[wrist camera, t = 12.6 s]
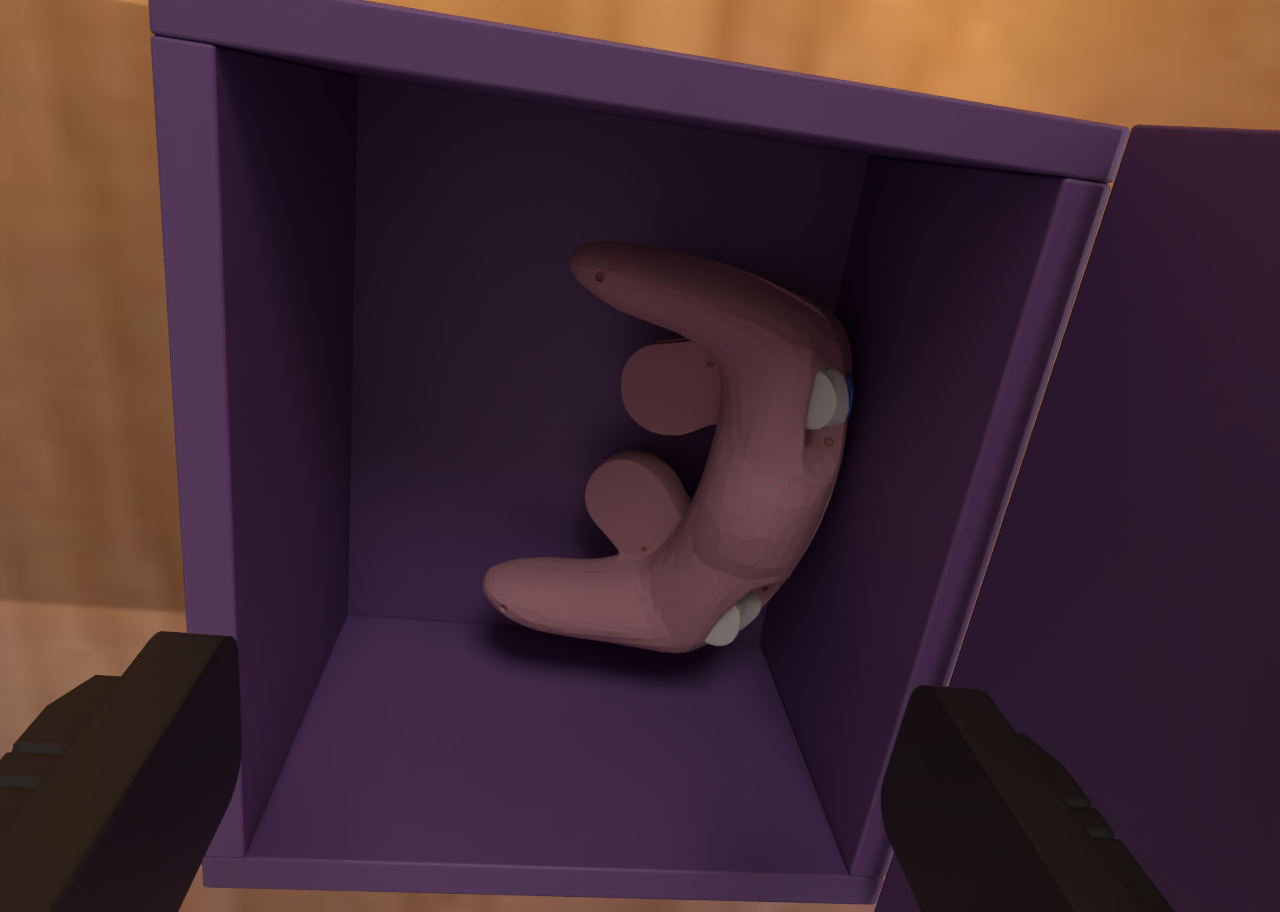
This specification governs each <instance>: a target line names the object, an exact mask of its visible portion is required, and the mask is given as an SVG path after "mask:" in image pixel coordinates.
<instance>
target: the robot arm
mask: <svg viewBox="0 0 1280 912" xmlns="http://www.w3.org/2000/svg"><path fill="white" fill-rule="evenodd" d="M241 755H242V730H241V704H240V679H239V654H238V646H237V643H236V640H235V639H234V637H232V636H224V635H209V634H194V633H180V632H165V631H160V632H158V633H156V634H155V635H154V636H153V637H152V638H151V639H150V640H149V641H148V643H147V644H146V645H145V646H144V648H143V649H142V650H141V652H140V653H139V654H138V655H137V657H136V658H135V659H134V661H133V662H132V663H131V664H130V666H129V667H128V668H127V670H126V671H125V672H124V674H123V675H122V676H121V677H120V676H104V675H95V676H93V677H92V678H90V679H89V680H87V681H86V682H84V683H82V684H81V685H79V686H78V687H76V688H74V689H73V690H71V691H70V692H68V693H67V694H65V695H63V696H62V697H60V698H59V699H57V700H55V701H54V702H52V703H51V704H49V705H48V706H46V707H45V709H44V710H43V711H42V712H41V713H40V714H39V716H38V717H37V718H36V719H35V720H34V721H33V723H32V724H31V725H30V726H29V727H28V728H27V730H26V731H25V732H24V733H23V734H22V735H21V736H20V738H19V739H18V740H17V741H16V742H15V743H14V745H13V750H12V752H11V753H6V754H5V755H4V756H3V757H2V758H1V760H0V912H178V911H179V909H180V907H181V905H182V902H183V900H184V898H185V896H186V894H187V892H188V890H189V888H190V886H191V884H192V882H193V879H194V877H195V875H196V873H197V871H198V869H199V867H200V865H201V863H202V861H203V859H204V856H205V854H206V852H207V850H208V848H209V846H210V844H211V842H212V840H213V838H214V836H215V833H216V831H217V829H218V827H219V825H220V823H221V821H222V819H223V817H224V815H225V813H226V810H227V808H228V806H229V804H230V802H231V799H232V796H233V793H234V790H235V787H236V783H237V779H238V774H239V769H240V763H241ZM1090 803H1091V801H1090V799H1089V798H1088V797H1087V796H1086V794H1085V793H1084V792H1083V790H1082V789H1081V788H1080V786H1079V785H1078V784H1077V782H1076V781H1075V780H1074V779H1073V777H1072V776H1071V775H1070V773H1069V772H1068V771H1067V769H1066V768H1065V767H1064V765H1062V764H1061V763H1060V762H1059V761H1057V760H1056V759H1055V758H1054V757H1053V756H1051V755H1050V754H1049V753H1048V752H1046V751H1045V750H1044V749H1043V748H1041V747H1040V746H1039V745H1038V744H1036V743H1035V742H1034V741H1033V740H1031V739H1030V738H1029V737H1028V736H1026V735H1025V734H1019V733H1016V732H1015V730H1014V729H1013V728H1012V726H1011V725H1010V723H1009V722H1008V721H1007V719H1006V718H1005V717H1004V715H1003V714H1002V712H1001V711H1000V710H999V708H998V707H997V706H996V704H995V703H994V701H993V700H992V699H991V697H990V696H989V695H988V694H987V693H986V692H984V691H983V690H980V689H972V688H958V687H943V686H928V685H921V686H918V687H917V688H916V689H915V690H914V691H913V692H912V694H911V696H910V698H909V701H908V704H907V707H906V710H905V713H904V716H903V719H902V722H901V726H900V729H899V732H898V735H897V738H896V741H895V744H894V747H893V750H892V754H891V757H890V760H889V763H888V766H887V769H886V772H885V775H884V779H883V783H882V789H881V813H882V819H883V824H884V828H885V831H886V834H887V837H888V839H889V841H890V844H891V846H892V848H893V850H894V853H895V855H896V857H897V859H898V862H899V864H900V866H901V868H902V870H903V873H904V875H905V877H906V879H907V882H908V884H909V886H910V888H911V891H912V893H913V895H914V897H915V900H916V902H917V904H918V906H919V908H920V911H921V912H1175V911H1174V909H1173V908H1172V907H1171V905H1170V904H1169V903H1168V902H1167V900H1166V899H1165V898H1164V896H1163V895H1162V894H1161V892H1160V891H1159V890H1158V888H1157V887H1156V886H1155V884H1154V883H1153V882H1152V881H1151V879H1150V878H1149V877H1148V875H1147V874H1146V873H1145V871H1144V870H1143V869H1142V867H1141V866H1140V865H1139V864H1138V862H1137V861H1136V860H1135V858H1134V857H1133V856H1132V854H1131V853H1130V852H1129V850H1128V849H1127V848H1126V847H1125V845H1124V844H1123V843H1122V841H1121V840H1120V839H1115V838H1114V831H1113V830H1112V828H1111V827H1110V826H1109V824H1108V823H1107V822H1106V820H1105V819H1104V818H1103V816H1102V815H1101V814H1100V813H1099V811H1098V810H1097V809H1096V808H1091V804H1090Z"/></svg>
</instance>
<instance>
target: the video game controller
mask: <svg viewBox="0 0 1280 912" xmlns="http://www.w3.org/2000/svg"><path fill="white" fill-rule="evenodd" d="M570 267H571V270H572V272H573V273H574V275H575V277H576V278H577V280H578V281H579V282H580V283H581V284H582V285H583V286H584V287H585V288H586V289H587V290H588V291H590V292H591V293H592V294H593V295H595V296H596V297H598V298H600V299H601V300H603V301H604V302H606V303H608V304H609V305H611V306H612V307H614V308H616V309H617V310H619V311H621V312H624V313H626V314H629V315H632V316H634V317H637V318H639V319H642V320H645V321H647V322H650V323H653V324H655V325H658V326H660V327H663V328H666V329H668V330H671V331H674V332H676V333H679V334H681V335H680V336H666V337H663V338H660V339H657V340H655V341H653V342H651V343H649V344H647V345H646V346H644V347H643V348H641V349H639V350H638V351H636V352H635V353H634V354H633V355H632V356H631V357H630V358H629V359H628V361H627V363H626V364H625V367H624V369H623V372H622V378H621V394H622V400H623V403H624V405H625V408H626V410H627V412H628V413H629V415H630V416H631V417H632V418H633V419H634V420H635V421H636V422H637V423H638V424H639V425H640V426H642V427H643V428H645V429H647V430H649V431H651V432H654V433H658V434H661V435H683V434H687V433H691V432H694V431H696V430H698V429H701V428H703V427H705V426H708V425H717V427H716V431H715V434H714V438H713V442H712V446H711V449H710V453H709V457H708V460H707V463H706V466H705V469H704V472H703V475H702V478H701V481H700V484H699V486H698V488H697V490H696V493H695V495H694V497H693V500H692V499H691V498H690V496H689V495H688V494H687V492H686V490H685V489H684V487H683V485H682V483H681V481H680V479H679V477H678V476H677V474H676V473H675V472H674V470H673V469H672V468H671V467H670V466H669V465H668V464H667V463H666V462H664V461H663V460H661V459H660V458H658V457H657V456H655V455H654V454H651V453H649V452H645V451H640V450H623V451H620V452H618V453H616V454H614V455H612V456H611V457H610V458H608V459H607V460H606V461H605V462H603V463H602V464H601V465H600V466H599V467H598V468H597V469H596V470H595V472H594V473H593V474H592V475H591V477H590V479H589V481H588V483H587V486H586V491H585V502H586V506H587V509H588V512H589V515H590V516H591V518H592V519H593V520H594V522H595V523H596V524H597V526H598V527H599V528H600V529H601V530H602V531H603V532H604V533H605V534H606V536H607V537H608V538H609V539H610V540H611V541H612V543H613V544H614V545H615V547H616V548H617V549H618V551H619V552H618V553H617V554H615V555H613V556H610V557H605V558H596V559H576V558H558V557H536V558H523V559H514V560H510V561H507V562H503V563H501V564H498V565H495V566H492V567H491V568H489V569H488V571H487V573H486V574H485V576H484V579H483V581H482V585H483V593H484V595H485V597H486V599H487V600H488V601H489V602H490V603H491V605H492V606H493V607H494V608H495V609H497V610H498V611H499V612H501V613H502V614H503V615H504V616H506V617H507V618H508V619H511V620H513V621H515V622H517V623H519V624H522V625H524V626H526V627H529V628H531V629H534V630H536V631H541V632H547V633H552V634H557V635H563V636H568V637H575V638H582V639H589V640H595V641H602V642H609V643H614V644H620V645H625V646H631V647H636V648H642V649H648V650H653V651H659V652H666V653H684V652H689V651H692V650H695V649H697V648H700V647H702V646H705V645H707V644H711V645H714V646H723V645H727V644H729V643H730V642H732V641H733V640H734V638H735V637H736V636H737V634H738V631H740V630H742V629H743V628H745V627H746V626H747V625H748V624H749V623H750V622H751V621H752V620H754V619H755V618H756V617H757V615H758V614H759V612H760V609H761V608H762V607H763V606H764V605H765V604H766V603H767V602H768V601H769V600H770V599H771V598H772V597H773V595H774V594H775V593H776V592H777V591H778V589H779V588H780V587H781V586H782V585H783V584H784V582H785V581H786V580H787V579H788V578H789V577H790V576H791V574H792V572H793V570H794V569H795V567H796V565H797V564H798V562H799V561H800V559H801V558H802V556H803V554H804V553H805V551H806V550H807V548H808V546H809V544H810V542H811V541H812V539H813V537H814V535H815V533H816V531H817V529H818V527H819V525H820V523H821V521H822V518H823V516H824V513H825V511H826V508H827V505H828V503H829V500H830V498H831V495H832V493H833V489H834V486H835V483H836V479H837V476H838V473H839V469H840V466H841V462H842V456H843V451H844V446H845V440H846V432H847V424H848V418H849V415H850V413H851V410H852V407H853V401H854V382H853V378H852V363H853V359H852V350H851V346H850V343H849V339H848V335H847V333H846V332H845V330H844V328H843V326H842V324H841V323H840V321H839V320H838V319H837V318H836V317H835V316H834V315H833V314H832V313H831V312H830V311H829V310H828V309H826V308H825V307H824V306H823V305H821V304H820V303H818V302H816V301H814V300H813V299H811V298H809V297H806V296H803V295H801V294H798V293H793V292H789V291H787V290H786V289H784V288H782V287H780V286H778V285H776V284H774V283H772V282H770V281H767V280H765V279H763V278H761V277H759V276H757V275H755V274H752V273H749V272H746V271H744V270H741V269H738V268H736V267H733V266H730V265H728V264H725V263H721V262H717V261H713V260H710V259H706V258H702V257H698V256H695V255H691V254H687V253H684V252H680V251H675V250H671V249H666V248H661V247H657V246H652V245H648V244H643V243H634V242H624V241H615V240H597V241H590V242H587V243H584V244H581V245H580V246H579V247H578V248H577V249H576V250H575V251H574V253H573V255H572V257H571V259H570Z"/></svg>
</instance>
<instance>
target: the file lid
mask: <svg viewBox="0 0 1280 912" xmlns="http://www.w3.org/2000/svg"><path fill="white" fill-rule="evenodd" d="M948 687H958V688H972V689H980V690H983V691H984V692H986V693H987V694H988V695H989V696H990V697H991V699H992V700H993V701H994V703H995V704H996V706H997V707H998V708H999V710H1000V711H1001V712H1002V714H1003V715H1004V717H1005V718H1006V719H1007V721H1008V722H1009V723H1010V725H1011V726H1012V728H1013V729H1014V730H1015V732H1016V733H1019V734H1025V735H1026V736H1028V737H1029V738H1030V739H1031V740H1033V741H1034V742H1035V743H1036V744H1038V745H1039V746H1040V747H1041V748H1043V749H1044V750H1045V751H1046V752H1048V753H1049V754H1050V755H1051V756H1053V757H1054V758H1055V759H1056V760H1057V761H1059V762H1060V763H1061V764H1062V765H1064V767H1065V768H1066V769H1067V771H1068V772H1069V773H1070V775H1071V776H1072V777H1073V779H1074V780H1075V781H1076V782H1077V784H1078V785H1079V786H1080V788H1081V789H1082V790H1083V792H1084V793H1085V794H1086V796H1087V797H1088V798H1089V799H1090V801H1091V803H1090V804H1091V808H1096V809H1097V810H1098V811H1099V813H1100V814H1101V815H1102V816H1103V818H1104V819H1105V820H1106V822H1107V823H1108V824H1109V826H1110V827H1111V828H1112V830H1113V831H1114V838H1115V839H1120V840H1121V841H1122V843H1123V844H1124V845H1125V847H1126V848H1127V849H1128V850H1129V852H1130V853H1131V854H1132V856H1133V857H1134V858H1135V860H1136V861H1137V862H1138V864H1139V865H1140V866H1141V867H1142V869H1143V870H1144V871H1145V873H1146V874H1147V875H1148V877H1149V878H1150V879H1151V881H1152V882H1153V883H1154V884H1155V886H1156V887H1157V888H1158V890H1159V891H1160V892H1161V894H1162V895H1163V896H1164V898H1165V899H1166V900H1167V902H1168V903H1169V904H1170V905H1171V907H1172V908H1173V909H1174V911H1175V912H1280V130H1258V129H1233V128H1209V127H1184V126H1160V125H1135V126H1133V128H1132V130H1131V133H1130V136H1129V139H1128V142H1127V145H1126V148H1125V151H1124V154H1123V157H1122V160H1121V163H1120V166H1119V169H1118V172H1117V175H1116V178H1115V181H1114V184H1113V187H1112V190H1111V193H1110V196H1109V199H1108V203H1107V206H1106V209H1105V212H1104V215H1103V218H1102V221H1101V224H1100V227H1099V230H1098V233H1097V236H1096V239H1095V242H1094V245H1093V248H1092V251H1091V254H1090V257H1089V260H1088V263H1087V266H1086V269H1085V272H1084V275H1083V278H1082V282H1081V285H1080V288H1079V291H1078V294H1077V297H1076V300H1075V303H1074V306H1073V309H1072V312H1071V315H1070V318H1069V321H1068V324H1067V327H1066V330H1065V333H1064V336H1063V339H1062V342H1061V345H1060V348H1059V351H1058V354H1057V358H1056V361H1055V364H1054V367H1053V370H1052V373H1051V376H1050V379H1049V382H1048V385H1047V388H1046V391H1045V394H1044V397H1043V400H1042V403H1041V406H1040V409H1039V412H1038V415H1037V418H1036V421H1035V424H1034V427H1033V430H1032V434H1031V437H1030V440H1029V443H1028V446H1027V449H1026V452H1025V455H1024V458H1023V461H1022V464H1021V467H1020V470H1019V473H1018V476H1017V479H1016V482H1015V485H1014V488H1013V491H1012V494H1011V497H1010V500H1009V503H1008V506H1007V509H1006V513H1005V516H1004V519H1003V522H1002V525H1001V528H1000V531H999V534H998V537H997V540H996V543H995V546H994V549H993V552H992V555H991V558H990V561H989V564H988V567H987V570H986V573H985V576H984V579H983V582H982V585H981V589H980V592H979V595H978V598H977V601H976V604H975V607H974V610H973V613H972V616H971V619H970V622H969V625H968V628H967V631H966V634H965V637H964V640H963V643H962V646H961V649H960V652H959V655H958V658H957V661H956V664H955V668H954V671H953V674H952V677H951V680H950V683H949V686H948ZM874 912H921V911H920V908H919V906H918V904H917V902H916V900H915V897H914V895H913V893H912V891H911V888H910V886H909V884H908V882H907V879H906V877H905V875H904V873H903V870H902V868H901V866H900V864H899V862H898V859H897V857H896V855H895V853H893V856H892V859H891V862H890V865H889V868H888V871H887V874H886V877H885V880H884V883H883V886H882V889H881V892H880V895H879V899H878V902H877V905H876V908H875V911H874Z"/></svg>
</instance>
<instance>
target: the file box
mask: <svg viewBox="0 0 1280 912" xmlns="http://www.w3.org/2000/svg"><path fill="white" fill-rule="evenodd" d="M149 15H150V29H151V32H152V33H153V34H155V36H152V37H151V53H152V69H153V85H154V101H155V118H156V134H157V150H158V166H159V183H160V199H161V215H162V231H163V248H164V264H165V280H166V296H167V313H168V329H169V345H170V361H171V378H172V394H173V410H174V426H175V443H176V459H177V475H178V491H179V507H180V524H181V540H182V556H183V572H184V589H185V605H186V621H187V633H194V634H209V635H224V636H232V637H234V639H235V640H236V643H237V646H238V654H239V679H240V704H241V730H242V755H241V763H240V769H239V774H238V779H237V783H236V787H235V790H234V793H233V796H232V799H231V802H230V804H229V806H228V808H227V810H226V813H225V815H224V817H223V819H222V821H221V823H220V825H219V827H218V829H217V831H216V833H215V836H214V838H213V840H212V842H211V844H210V846H209V848H208V850H207V852H206V854H205V856H204V859H203V861H202V871H203V885H204V886H205V887H215V888H253V889H292V890H331V891H370V892H408V893H447V894H486V895H524V896H563V897H602V898H641V899H679V900H718V901H757V902H795V903H834V904H875V903H876V901H877V898H878V895H879V892H880V889H881V886H882V883H883V876H884V875H885V874H886V871H887V868H888V865H889V862H890V859H891V856H892V853H893V848H892V846H891V844H890V841H889V839H888V837H887V834H886V831H885V828H884V824H883V819H882V813H881V789H882V783H883V779H884V775H885V772H886V769H887V766H888V763H889V760H890V757H891V754H892V750H893V747H894V744H895V741H896V738H897V735H898V732H899V729H900V726H901V722H902V719H903V716H904V713H905V710H906V707H907V704H908V701H909V698H910V696H911V694H912V692H913V691H914V690H915V689H916V688H917V687H918V686H921V685H928V686H943V687H947V685H948V682H949V679H950V676H951V673H952V670H953V667H954V664H955V661H956V658H957V655H958V652H959V649H960V646H961V643H962V639H963V636H964V633H965V630H966V627H967V624H968V621H969V618H970V615H971V612H972V609H973V606H974V603H975V600H976V597H977V594H978V591H979V588H980V585H981V582H982V579H983V576H984V573H985V569H986V566H987V563H988V560H989V557H990V554H991V551H992V548H993V545H994V542H995V539H996V536H997V533H998V530H999V527H1000V524H1001V521H1002V518H1003V515H1004V512H1005V509H1006V506H1007V502H1008V499H1009V496H1010V493H1011V490H1012V487H1013V484H1014V481H1015V478H1016V475H1017V472H1018V469H1019V466H1020V463H1021V460H1022V457H1023V454H1024V451H1025V448H1026V445H1027V442H1028V439H1029V435H1030V432H1031V429H1032V426H1033V423H1034V420H1035V417H1036V414H1037V411H1038V408H1039V405H1040V402H1041V399H1042V396H1043V393H1044V390H1045V387H1046V384H1047V381H1048V378H1049V375H1050V372H1051V368H1052V365H1053V362H1054V359H1055V356H1056V353H1057V350H1058V347H1059V344H1060V341H1061V338H1062V335H1063V332H1064V329H1065V326H1066V323H1067V320H1068V317H1069V314H1070V311H1071V308H1072V305H1073V301H1074V298H1075V295H1076V292H1077V289H1078V286H1079V283H1080V280H1081V277H1082V274H1083V271H1084V268H1085V265H1086V262H1087V259H1088V256H1089V253H1090V250H1091V247H1092V244H1093V241H1094V238H1095V234H1096V231H1097V228H1098V225H1099V222H1100V219H1101V216H1102V213H1103V210H1104V207H1105V204H1106V201H1107V198H1108V195H1109V192H1110V186H1109V185H1108V184H1106V183H1111V182H1113V180H1114V178H1115V175H1116V172H1117V169H1118V166H1119V163H1120V160H1121V157H1122V154H1123V151H1124V147H1125V144H1126V141H1127V138H1128V135H1129V129H1128V128H1127V127H1123V126H1117V125H1111V124H1105V123H1099V122H1093V121H1087V120H1081V119H1075V118H1069V117H1063V116H1057V115H1051V114H1045V113H1039V112H1033V111H1027V110H1021V109H1015V108H1009V107H1003V106H997V105H991V104H985V103H979V102H973V101H967V100H961V99H955V98H949V97H943V96H937V95H930V94H924V93H918V92H912V91H906V90H900V89H894V88H888V87H882V86H876V85H870V84H864V83H858V82H852V81H846V80H840V79H834V78H828V77H822V76H816V75H810V74H804V73H798V72H792V71H786V70H780V69H774V68H768V67H762V66H756V65H750V64H744V63H738V62H732V61H726V60H720V59H714V58H708V57H702V56H696V55H690V54H684V53H678V52H672V51H666V50H660V49H654V48H648V47H642V46H636V45H630V44H624V43H618V42H612V41H606V40H600V39H594V38H588V37H581V36H575V35H569V34H563V33H557V32H551V31H545V30H539V29H533V28H527V27H521V26H515V25H509V24H503V23H497V22H491V21H485V20H479V19H473V18H467V17H461V16H455V15H449V14H443V13H437V12H431V11H425V10H419V9H413V8H407V7H401V6H395V5H389V4H383V3H377V2H371V1H365V0H149ZM597 240H615V241H624V242H634V243H643V244H648V245H652V246H657V247H661V248H666V249H671V250H675V251H680V252H684V253H687V254H691V255H695V256H698V257H702V258H706V259H710V260H713V261H717V262H721V263H725V264H728V265H730V266H733V267H736V268H738V269H741V270H744V271H746V272H749V273H752V274H755V275H757V276H759V277H761V278H763V279H765V280H767V281H770V282H772V283H774V284H776V285H778V286H780V287H782V288H784V289H786V290H787V291H789V292H793V293H798V294H801V295H803V296H806V297H809V298H811V299H813V300H814V301H816V302H818V303H820V304H821V305H823V306H824V307H825V308H826V309H828V310H829V311H830V312H831V313H832V314H833V315H834V316H835V317H836V318H837V319H838V320H839V321H840V323H841V324H842V326H843V328H844V330H845V332H846V333H847V335H848V339H849V343H850V346H851V350H852V359H853V363H852V378H853V382H854V401H853V407H852V410H851V413H850V415H849V418H848V424H847V432H846V440H845V446H844V451H843V456H842V462H841V466H840V469H839V473H838V476H837V479H836V483H835V486H834V489H833V493H832V495H831V498H830V500H829V503H828V505H827V508H826V511H825V513H824V516H823V518H822V521H821V523H820V525H819V527H818V529H817V531H816V533H815V535H814V537H813V539H812V541H811V542H810V544H809V546H808V548H807V550H806V551H805V553H804V554H803V556H802V558H801V559H800V561H799V562H798V564H797V565H796V567H795V569H794V570H793V572H792V574H791V576H790V577H789V578H788V579H787V580H786V581H785V582H784V584H783V585H782V586H781V587H780V588H779V589H778V591H777V592H776V593H775V594H774V595H773V597H772V598H771V599H770V600H769V601H768V602H767V603H766V604H765V605H764V606H763V607H762V608H761V609H760V612H759V614H758V615H757V617H756V618H755V619H754V620H752V621H751V622H750V623H749V624H748V625H747V626H746V627H745V628H743V629H742V630H740V631H738V634H737V636H736V637H735V638H734V640H733V641H732V642H730V643H729V644H727V645H723V646H714V645H711V644H707V645H705V646H702V647H700V648H697V649H695V650H692V651H689V652H684V653H666V652H659V651H653V650H648V649H642V648H636V647H631V646H625V645H620V644H614V643H609V642H602V641H595V640H589V639H582V638H575V637H568V636H563V635H557V634H552V633H547V632H541V631H536V630H534V629H531V628H529V627H526V626H524V625H522V624H519V623H517V622H515V621H513V620H511V619H508V618H507V617H506V616H504V615H503V614H502V613H501V612H499V611H498V610H497V609H495V608H494V607H493V606H492V605H491V603H490V602H489V601H488V600H487V599H486V597H485V595H484V593H483V585H482V581H483V579H484V576H485V574H486V573H487V571H488V569H489V568H491V567H492V566H495V565H498V564H501V563H503V562H507V561H510V560H514V559H523V558H536V557H558V558H576V559H596V558H605V557H610V556H613V555H615V554H617V553H618V552H619V551H618V549H617V548H616V547H615V545H614V544H613V543H612V541H611V540H610V539H609V538H608V537H607V536H606V534H605V533H604V532H603V531H602V530H601V529H600V528H599V527H598V526H597V524H596V523H595V522H594V520H593V519H592V518H591V516H590V515H589V512H588V509H587V506H586V502H585V491H586V486H587V483H588V481H589V479H590V477H591V475H592V474H593V473H594V472H595V470H596V469H597V468H598V467H599V466H600V465H601V464H602V463H603V462H605V461H606V460H607V459H608V458H610V457H611V456H612V455H614V454H616V453H618V452H620V451H623V450H640V451H645V452H649V453H651V454H654V455H655V456H657V457H658V458H660V459H661V460H663V461H664V462H666V463H667V464H668V465H669V466H670V467H671V468H672V469H673V470H674V472H675V473H676V474H677V476H678V477H679V479H680V481H681V483H682V485H683V487H684V489H685V490H686V492H687V494H688V495H689V496H690V498H691V499H692V500H693V497H694V495H695V493H696V490H697V488H698V486H699V484H700V481H701V478H702V475H703V472H704V469H705V466H706V463H707V460H708V457H709V453H710V449H711V446H712V442H713V438H714V434H715V431H716V427H717V425H708V426H705V427H703V428H701V429H698V430H696V431H694V432H691V433H687V434H683V435H661V434H658V433H654V432H651V431H649V430H647V429H645V428H643V427H642V426H640V425H639V424H638V423H637V422H636V421H635V420H634V419H633V418H632V417H631V416H630V415H629V413H628V412H627V410H626V408H625V405H624V403H623V400H622V394H621V378H622V372H623V369H624V367H625V364H626V363H627V361H628V359H629V358H630V357H631V356H632V355H633V354H634V353H635V352H636V351H638V350H639V349H641V348H643V347H644V346H646V345H647V344H649V343H651V342H653V341H655V340H657V339H660V338H663V337H666V336H680V335H681V334H679V333H676V332H674V331H671V330H668V329H666V328H663V327H660V326H658V325H655V324H653V323H650V322H647V321H645V320H642V319H639V318H637V317H634V316H632V315H629V314H626V313H624V312H621V311H619V310H617V309H616V308H614V307H612V306H611V305H609V304H608V303H606V302H604V301H603V300H601V299H600V298H598V297H596V296H595V295H593V294H592V293H591V292H590V291H588V290H587V289H586V288H585V287H584V286H583V285H582V284H581V283H580V282H579V281H578V280H577V278H576V277H575V275H574V273H573V272H572V270H571V267H570V259H571V257H572V255H573V253H574V251H575V250H576V249H577V248H578V247H579V246H580V245H581V244H584V243H587V242H590V241H597Z"/></svg>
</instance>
